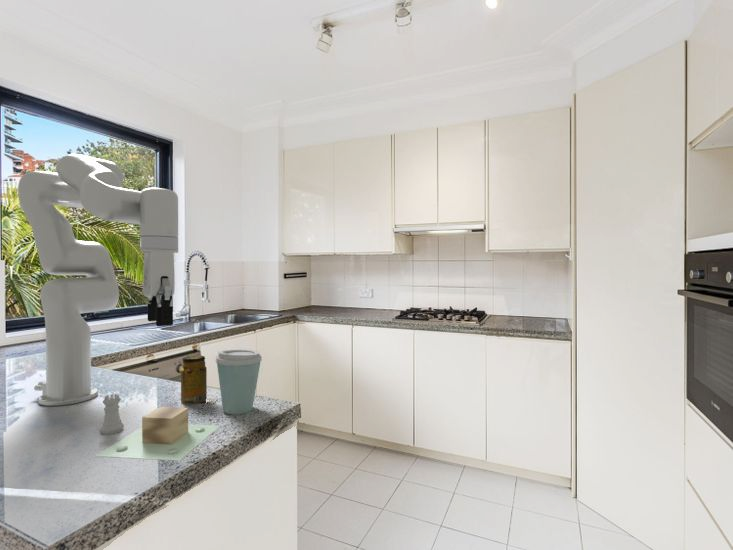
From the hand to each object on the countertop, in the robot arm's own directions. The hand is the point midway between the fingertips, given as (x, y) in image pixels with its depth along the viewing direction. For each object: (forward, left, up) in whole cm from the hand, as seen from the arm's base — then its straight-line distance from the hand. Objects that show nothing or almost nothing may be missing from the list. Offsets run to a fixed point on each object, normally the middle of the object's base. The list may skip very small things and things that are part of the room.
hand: (159, 323), depth 90 cm
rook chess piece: (-6, -7, -23) cm, 24 cm away
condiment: (+2, +13, -23) cm, 26 cm away
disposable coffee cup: (+15, +8, -23) cm, 28 cm away
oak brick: (+7, -9, -22) cm, 24 cm away
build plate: (+7, -10, -22) cm, 25 cm away
